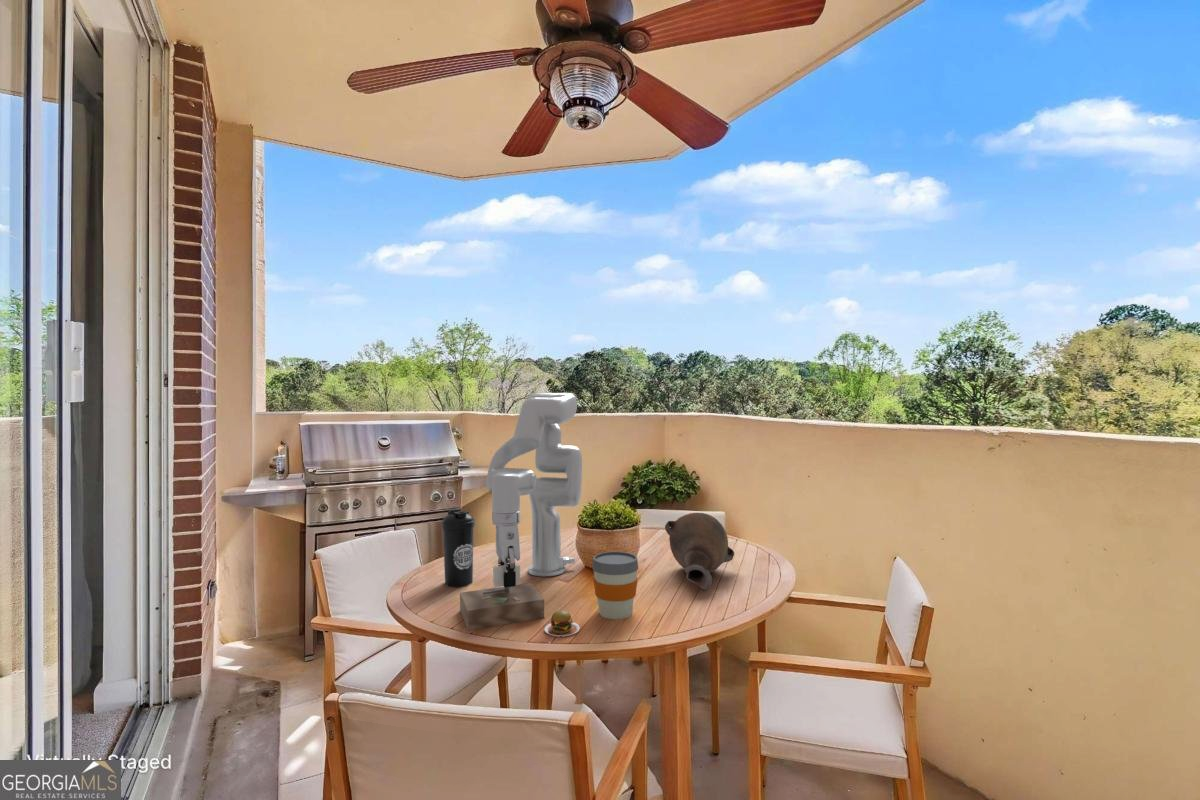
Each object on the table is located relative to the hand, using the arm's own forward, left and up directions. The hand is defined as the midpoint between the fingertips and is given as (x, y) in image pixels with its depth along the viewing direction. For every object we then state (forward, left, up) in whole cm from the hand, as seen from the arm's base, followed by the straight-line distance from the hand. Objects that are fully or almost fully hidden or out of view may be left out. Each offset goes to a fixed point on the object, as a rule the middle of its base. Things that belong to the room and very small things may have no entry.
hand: (506, 581), depth 155 cm
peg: (+2, 0, -3) cm, 3 cm away
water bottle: (+9, -29, -8) cm, 31 cm away
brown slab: (+2, +2, -8) cm, 8 cm away
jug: (-64, -4, -8) cm, 64 cm away
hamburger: (-10, +18, -9) cm, 22 cm away
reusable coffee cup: (-27, +13, -8) cm, 31 cm away
